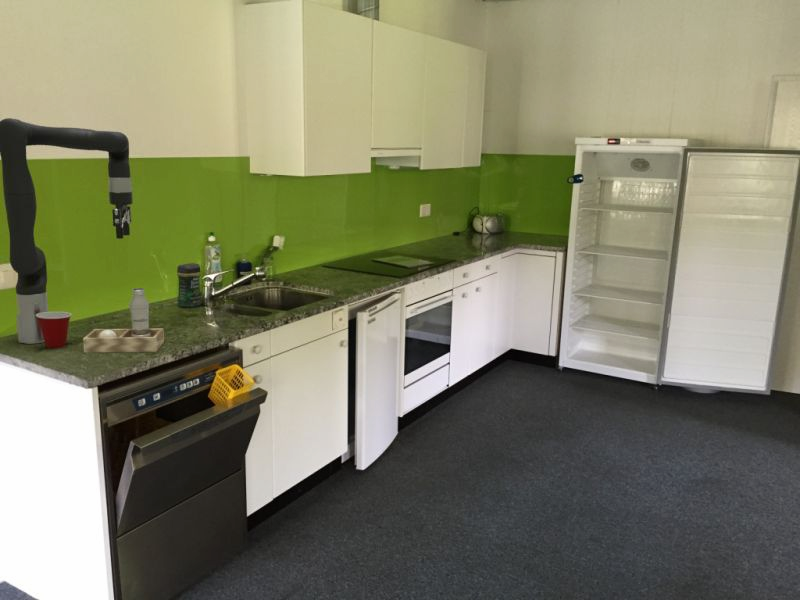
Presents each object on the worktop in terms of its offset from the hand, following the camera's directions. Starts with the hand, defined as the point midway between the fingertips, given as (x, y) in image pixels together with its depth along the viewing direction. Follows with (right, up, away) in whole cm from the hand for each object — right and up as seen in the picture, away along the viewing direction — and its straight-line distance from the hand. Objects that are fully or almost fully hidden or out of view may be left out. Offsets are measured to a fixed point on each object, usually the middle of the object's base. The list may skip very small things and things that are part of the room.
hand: (123, 236), depth 238 cm
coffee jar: (+7, -25, +54) cm, 60 cm away
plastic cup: (-19, -39, -9) cm, 44 cm away
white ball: (-1, -38, -10) cm, 40 cm away
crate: (+4, -39, -9) cm, 40 cm away
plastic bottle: (+10, -38, -8) cm, 41 cm away
